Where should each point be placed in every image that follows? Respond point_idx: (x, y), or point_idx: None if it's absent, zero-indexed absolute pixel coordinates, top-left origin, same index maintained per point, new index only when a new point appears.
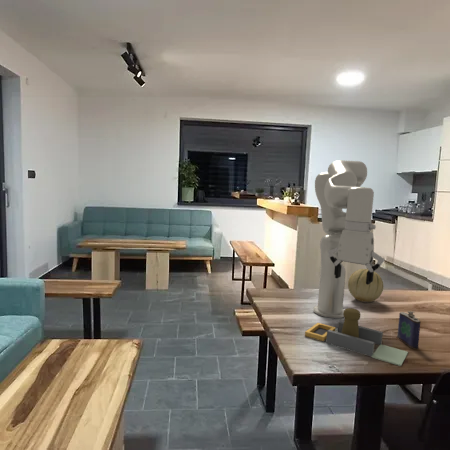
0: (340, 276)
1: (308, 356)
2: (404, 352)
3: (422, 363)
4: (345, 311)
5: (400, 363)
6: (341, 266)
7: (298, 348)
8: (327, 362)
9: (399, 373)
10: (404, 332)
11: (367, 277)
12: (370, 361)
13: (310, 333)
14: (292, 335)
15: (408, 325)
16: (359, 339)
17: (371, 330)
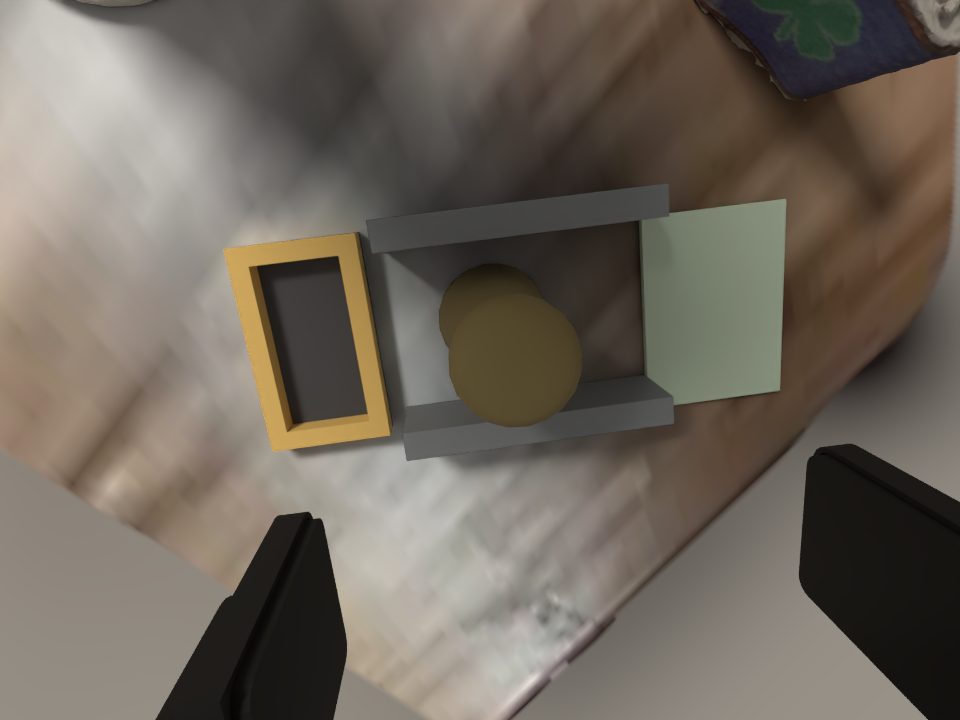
0: (320, 522)
1: (432, 611)
2: (771, 225)
3: (856, 272)
4: (481, 415)
5: (775, 377)
6: (256, 677)
7: (354, 583)
8: (518, 596)
9: (781, 458)
10: (772, 7)
11: (904, 680)
12: (654, 448)
13: (306, 445)
14: (232, 484)
15: (844, 8)
16: (597, 426)
17: (603, 221)
